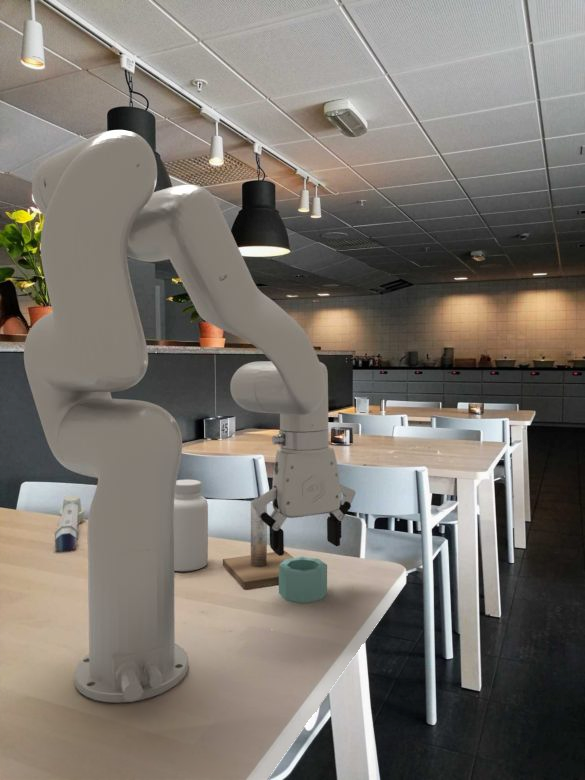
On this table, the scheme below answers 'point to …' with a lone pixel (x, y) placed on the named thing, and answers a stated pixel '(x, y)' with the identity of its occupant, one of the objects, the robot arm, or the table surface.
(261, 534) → the grey metal peg
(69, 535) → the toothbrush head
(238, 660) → the table surface
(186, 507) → the pill bottle
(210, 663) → the table surface
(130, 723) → the table surface
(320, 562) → the ring
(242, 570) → the board
